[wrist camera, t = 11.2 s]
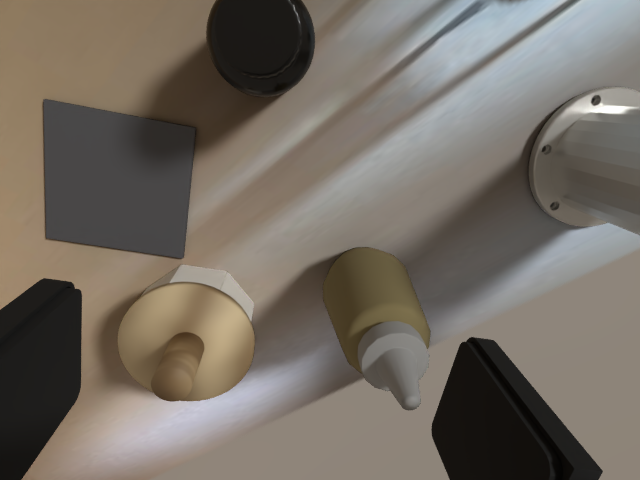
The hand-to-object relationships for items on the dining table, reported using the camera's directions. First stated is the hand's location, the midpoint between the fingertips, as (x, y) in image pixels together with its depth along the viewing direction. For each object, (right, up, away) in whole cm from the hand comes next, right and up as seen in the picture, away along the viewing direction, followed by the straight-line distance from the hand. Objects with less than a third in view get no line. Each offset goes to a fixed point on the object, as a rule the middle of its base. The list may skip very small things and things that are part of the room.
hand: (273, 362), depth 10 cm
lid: (-10, -6, +27) cm, 29 cm away
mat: (-16, +8, +26) cm, 32 cm away
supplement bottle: (-3, +18, +24) cm, 30 cm away
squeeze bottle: (+5, 0, +31) cm, 31 cm away
